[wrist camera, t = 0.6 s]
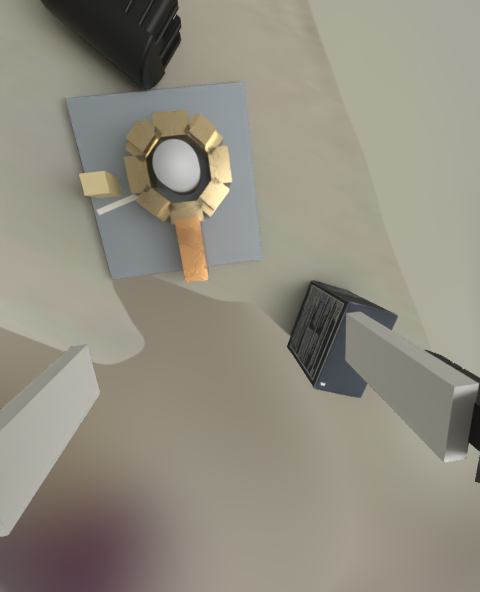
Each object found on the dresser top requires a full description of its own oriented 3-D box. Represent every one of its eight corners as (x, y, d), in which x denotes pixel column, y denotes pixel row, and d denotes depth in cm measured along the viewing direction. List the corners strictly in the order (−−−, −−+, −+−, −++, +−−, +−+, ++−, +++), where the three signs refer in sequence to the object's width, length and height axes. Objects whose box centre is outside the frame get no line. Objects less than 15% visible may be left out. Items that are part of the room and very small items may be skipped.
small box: (325, 357, 41) (363, 402, 31) (285, 347, 40) (310, 390, 30) (352, 291, 38) (403, 316, 28) (310, 278, 37) (347, 300, 27)
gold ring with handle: (127, 130, 29) (108, 110, 24) (221, 120, 29) (223, 99, 24) (158, 277, 33) (148, 288, 28) (239, 266, 34) (244, 275, 29)
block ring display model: (72, 104, 29) (18, 59, 21) (243, 88, 30) (254, 39, 22) (116, 277, 34) (86, 295, 26) (260, 257, 36) (274, 268, 28)
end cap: (64, 32, 28) (19, -26, 21) (99, -38, 26) (63, -121, 20) (151, 102, 30) (134, 70, 24) (187, 41, 29) (180, -10, 22)
